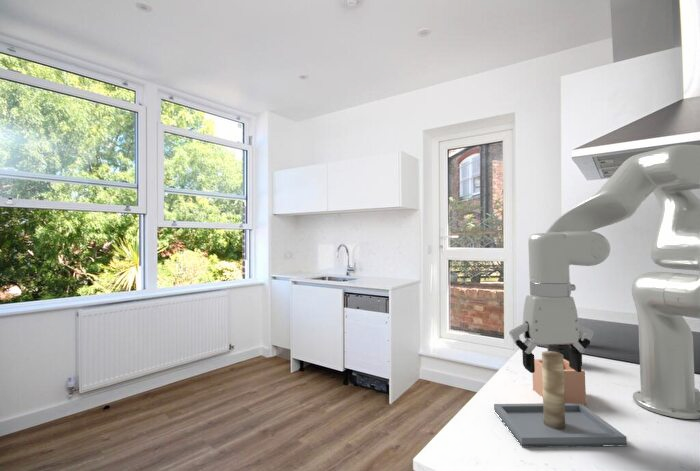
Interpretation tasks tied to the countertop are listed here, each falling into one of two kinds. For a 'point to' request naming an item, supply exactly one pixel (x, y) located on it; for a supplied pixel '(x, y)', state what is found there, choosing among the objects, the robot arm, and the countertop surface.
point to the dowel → (553, 389)
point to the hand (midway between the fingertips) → (552, 370)
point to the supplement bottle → (560, 350)
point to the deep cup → (572, 383)
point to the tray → (577, 432)
